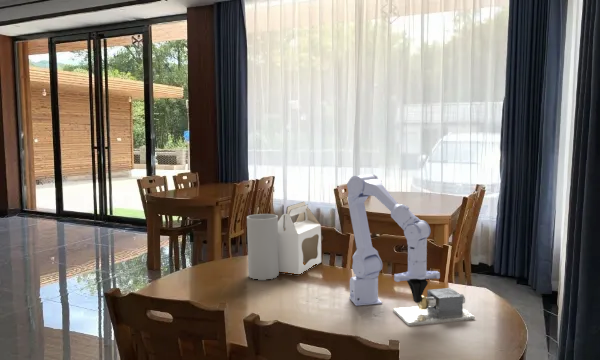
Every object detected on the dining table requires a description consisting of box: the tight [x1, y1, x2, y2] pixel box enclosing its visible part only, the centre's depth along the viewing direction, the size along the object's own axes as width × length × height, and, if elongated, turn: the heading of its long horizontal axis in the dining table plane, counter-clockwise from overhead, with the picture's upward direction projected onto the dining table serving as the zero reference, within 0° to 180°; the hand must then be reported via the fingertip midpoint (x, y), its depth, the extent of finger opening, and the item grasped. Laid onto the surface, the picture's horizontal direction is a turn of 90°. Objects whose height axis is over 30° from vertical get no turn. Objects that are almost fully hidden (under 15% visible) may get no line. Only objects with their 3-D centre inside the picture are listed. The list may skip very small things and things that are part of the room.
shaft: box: [416, 293, 466, 310], centre depth 150 cm, size 15×4×4 cm, turn 101°
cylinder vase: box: [246, 213, 280, 281], centre depth 192 cm, size 12×12×25 cm
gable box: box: [278, 201, 322, 275], centre depth 205 cm, size 22×13×28 cm, turn 152°
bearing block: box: [392, 287, 476, 327], centre depth 150 cm, size 22×12×7 cm, turn 101°
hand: (416, 301), depth 148 cm, fingers closed
